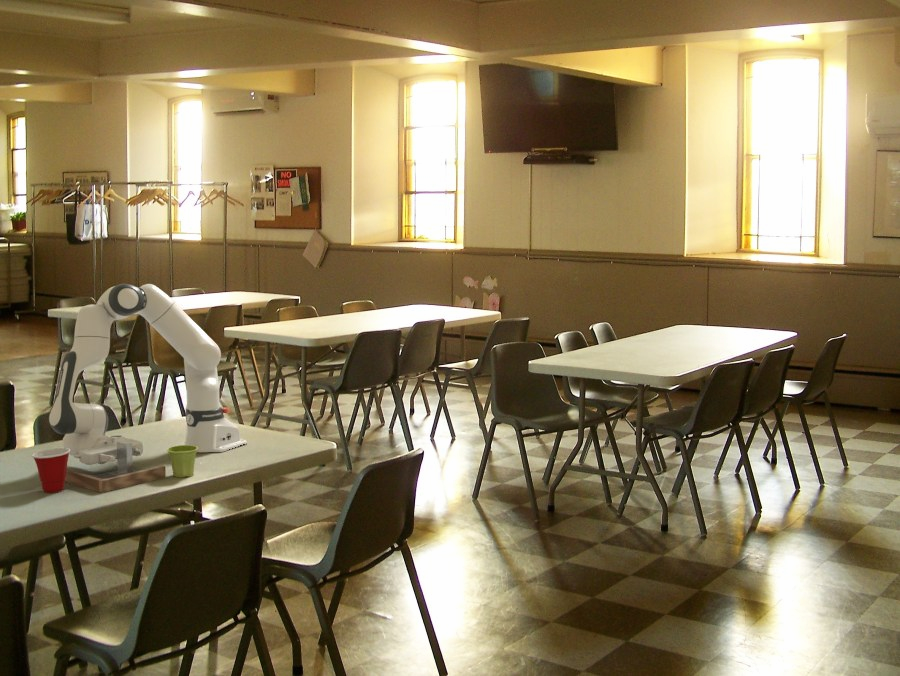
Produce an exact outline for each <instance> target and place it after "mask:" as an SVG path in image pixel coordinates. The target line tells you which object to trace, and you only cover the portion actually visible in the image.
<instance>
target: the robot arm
mask: <svg viewBox="0 0 900 676" xmlns="http://www.w3.org/2000/svg"><path fill="white" fill-rule="evenodd" d="M135 314H138V315H139V316H141V317H143V318H144V320H146V322H148V324H149V325H150V326H151V327H152V328H154V330H155V331H156V332H158V334H159V335H161V337H162V338H163V339H164V340H165V341H166V342H167V343H168V344H169V345H171V346H172V347H173V349H175V351H176V352H177V353H178V354H179V355H180V356H181V357H182V358H183V364H184V375H185V384H186V385H185V387H186V408H185V420H186V433H185V439H184V440H185V441H184V444H183V445H193V446H197V447H198V450H197V452H196V453H223V452H226V451H230V450H232V448H233V449H235V447H236V448H239V447H241V446H240V445H242V446H244V445H243V444H245V445H247V444H248V442H247V440H246V439H244V438H241V434H240V430H239V427H238V426H237V425H236V424H234V423H233V422H231V420H229V419H228V418H226V417H225V415H224V414H226V415H227V414H229V413H230V410H231V409H230V408H229V407H223V408H222V407H221V406H220V405H221V403H220V382H219V375H218V374H219V373H218V365H219V364H220V362H221V357H222V352H221V348H220V347H219V345H218V344H217V343H216V342H215V341H214V340H213V339H212V338H211V337H210V336H209V335H208V333H206V332H205V331H204V330H203V329H202V328H201V327H200V326H199V325H198V324H197V323H196V322H195V321H194V320H193V319H192V318H191V317H190V316H189V315H188V314H187V313H186V312H185V311H184V310H183V308H181V307H180V305H179V304H178V303H176V302H175V300H173V299H172V298H171V297H170V296H169V295H168V294H167V293H166V292H164V291H163V290H162V289H161V288H159V287H157V285H154V283H153V284H152V283H146V284H143V285H141V286H140V287H138V286H135V285H132V284H129V283H119V284H116V285H114V286H112V287H110V288H109V287H108V289H107V290H105V291H104V292H102V293H101V294H100V295H99V296H98V298H97V300H96V301H95V303H94V304H92V303H91V304H87V305H84V306H82V307H81V308H80V309H79V310H78V313H77V317H76V321H75V327H74V337H73V338H74V340H73V344H72V347H71V349H70V351H69V352H67V353H66V354H65V355H64V357H63V360H62V362H61V366H60V370H59V375H58V380H57V385H56V390H55V394H54V400H53V403H52V405H51V408H50V411H49V414H48V423H49V425H50V427H51V428H52V429H53V431H54V432H55V433H57V434H59V435H64V437H63V438H62V448H68V449H70V452H69V455H70V456H72V457H73V458H75V459H78V461H79V462H80V463H81V464H85V465H87V466H88V465H90V466H92V465H97V464H99V465H104V464H107V463H108V462H109V463H111V462H115V461H116V460H117V442H118V441H126V442H130V443H132V457H139V456H142V454H143V452H144V445H143V442H142V441H139V440H137V439H133V438H129V437H128V438H127V437H126V436H125V435H106V433H107V430H108V427H109V416H108V413H107V411H106V409H105V408H104V407H103V406H102V404H98V403H82V402H81V403H78V402H73V398H74V392H75V387H76V383H77V378H78V376H79V374H81V372H83V371H84V370H86V369H89V368H92V367H95V366H98V365H99V364H101V363H102V362H104V361H105V360H106V358H108V355H109V354H110V353H109V352H110V349H111V348H110V347H111V328H112V324H113V323H115V322H118V321H122V320H125V319H128V318H130V317H131V316H132V315H135ZM246 443H247V444H246ZM238 446H239V447H238ZM229 449H230V450H229Z"/></svg>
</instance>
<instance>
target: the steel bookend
mask: <svg viewBox="0 0 900 676" xmlns="http://www.w3.org/2000/svg"><path fill="white" fill-rule="evenodd" d="M116 461H117V462H116V463H117V464H116V465H117V470H118V472H114V473H109V478H111V477H115V476H120V475H124V474H128V473H133V469H134V467H133V466H134V465H133V464H134V463H133V456H132V443H130V442H126V441H118V442H117V459H116Z"/></svg>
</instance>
